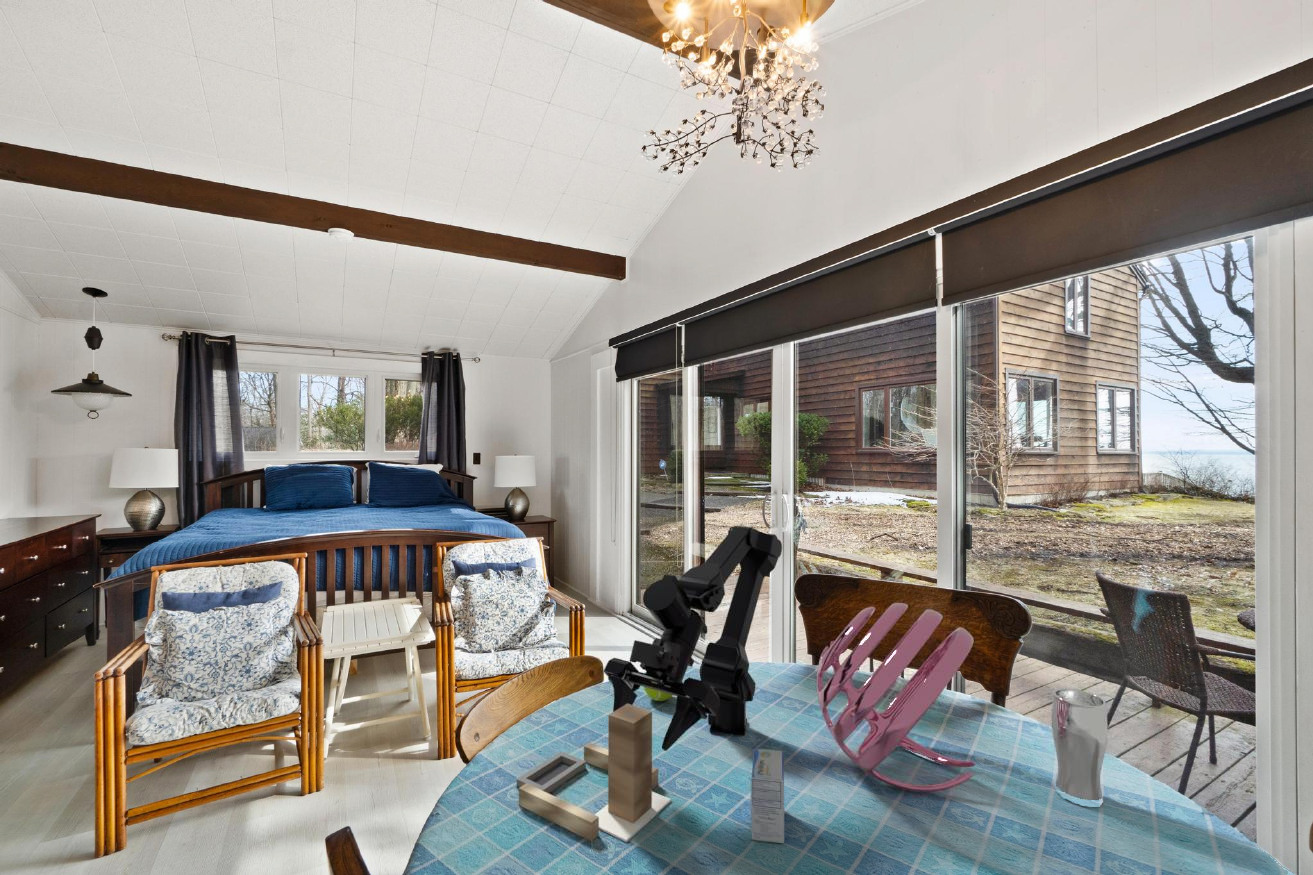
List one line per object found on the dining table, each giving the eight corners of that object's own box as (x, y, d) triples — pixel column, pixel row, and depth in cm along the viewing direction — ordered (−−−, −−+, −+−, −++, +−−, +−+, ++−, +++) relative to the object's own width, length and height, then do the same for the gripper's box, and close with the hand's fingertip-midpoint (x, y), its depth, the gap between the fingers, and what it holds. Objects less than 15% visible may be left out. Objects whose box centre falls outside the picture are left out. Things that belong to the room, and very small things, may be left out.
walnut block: (627, 796, 90) (627, 703, 90) (651, 807, 87) (652, 711, 87) (608, 812, 86) (608, 714, 86) (633, 823, 83) (633, 723, 83)
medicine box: (784, 845, 80) (784, 780, 80) (750, 840, 80) (750, 776, 80) (783, 809, 87) (784, 750, 87) (752, 805, 88) (753, 746, 88)
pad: (586, 823, 84) (586, 821, 84) (633, 785, 93) (633, 783, 93) (626, 842, 80) (626, 839, 80) (670, 801, 89) (670, 799, 89)
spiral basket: (1060, 659, 94) (907, 547, 106) (1019, 772, 74) (837, 618, 87) (960, 750, 109) (836, 643, 121) (904, 864, 89) (763, 722, 102)
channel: (518, 805, 88) (518, 788, 88) (589, 757, 101) (589, 742, 101) (591, 841, 80) (591, 822, 80) (658, 784, 93) (658, 768, 93)
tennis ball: (636, 698, 124) (636, 665, 124) (660, 689, 129) (661, 656, 129) (659, 710, 119) (659, 675, 119) (683, 699, 124) (684, 666, 124)
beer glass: (1097, 787, 93) (1097, 691, 93) (1115, 814, 86) (1115, 710, 86) (1045, 779, 95) (1045, 684, 95) (1059, 804, 89) (1059, 703, 89)
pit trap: (516, 786, 93) (516, 779, 93) (561, 758, 101) (561, 751, 101) (542, 798, 90) (542, 790, 90) (586, 768, 98) (586, 761, 98)
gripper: (610, 608, 98) (564, 700, 88) (710, 628, 87) (669, 736, 78) (638, 642, 104) (598, 731, 95) (735, 665, 94) (700, 768, 85)
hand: (637, 740), depth 88 cm, fingers open, 9 cm apart
